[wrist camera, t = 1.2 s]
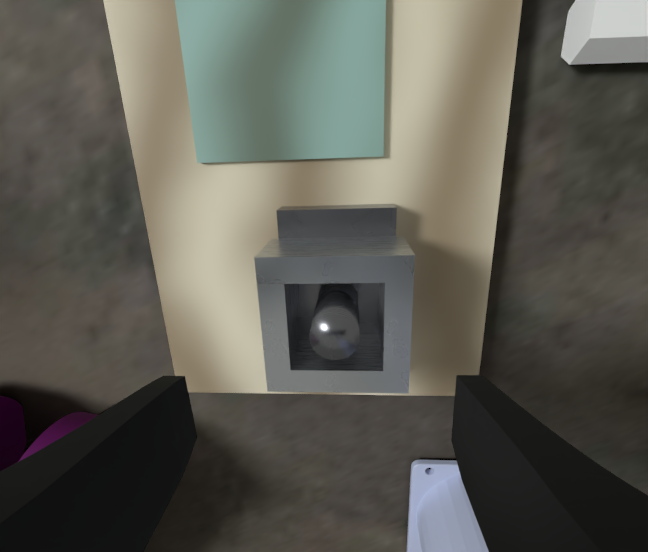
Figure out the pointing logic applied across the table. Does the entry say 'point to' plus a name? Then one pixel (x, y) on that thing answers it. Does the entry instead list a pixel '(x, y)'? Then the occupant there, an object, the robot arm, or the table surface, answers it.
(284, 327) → the square hollow frame
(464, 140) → the board
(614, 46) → the marker
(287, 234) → the peg base
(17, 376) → the table surface
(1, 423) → the mounting bracket
